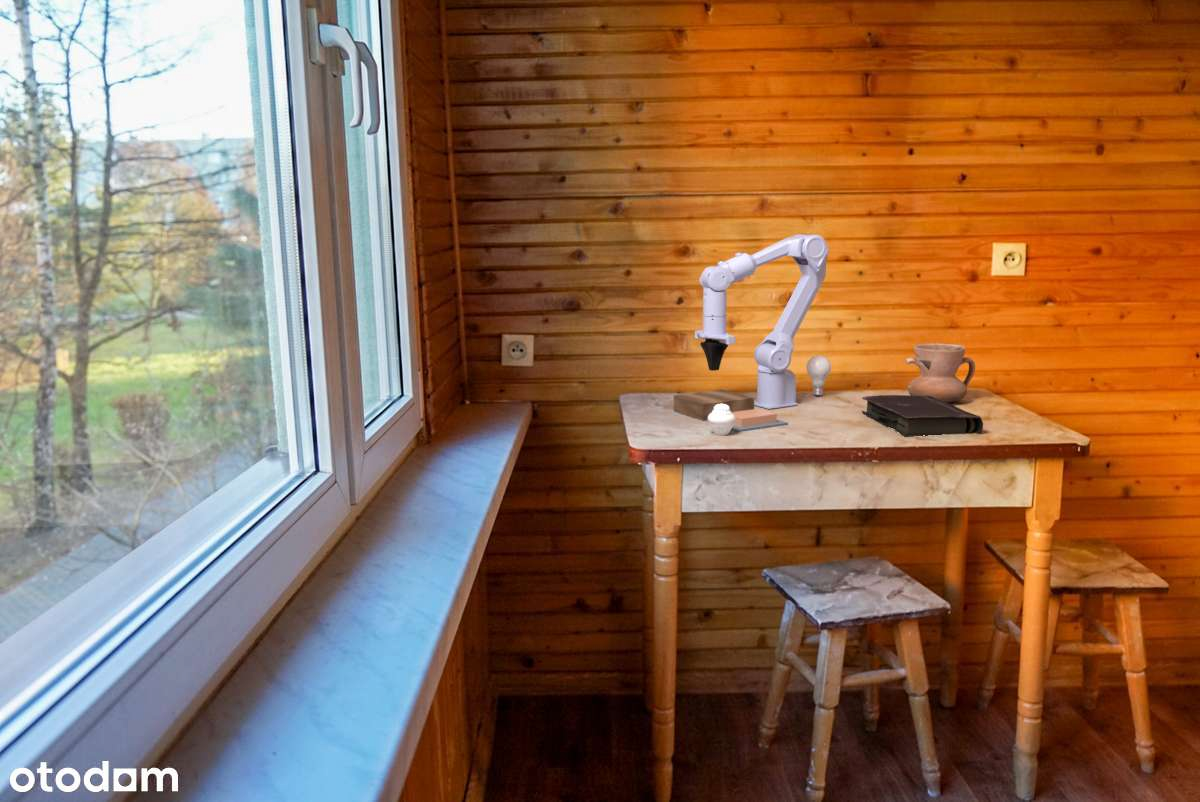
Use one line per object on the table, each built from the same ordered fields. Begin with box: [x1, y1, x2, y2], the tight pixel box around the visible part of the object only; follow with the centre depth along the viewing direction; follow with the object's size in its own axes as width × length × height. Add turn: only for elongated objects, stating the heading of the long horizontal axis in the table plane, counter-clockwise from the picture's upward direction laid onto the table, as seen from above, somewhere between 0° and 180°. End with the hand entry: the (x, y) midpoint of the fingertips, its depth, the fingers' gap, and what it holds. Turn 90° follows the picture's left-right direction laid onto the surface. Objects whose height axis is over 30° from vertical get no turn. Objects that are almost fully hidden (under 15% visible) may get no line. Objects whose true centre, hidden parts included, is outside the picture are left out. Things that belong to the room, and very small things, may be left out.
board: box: [673, 389, 755, 422], centre depth 231 cm, size 15×13×4 cm
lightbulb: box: [806, 354, 832, 397], centre depth 248 cm, size 6×6×11 cm
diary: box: [861, 394, 984, 438], centre depth 216 cm, size 19×25×5 cm
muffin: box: [707, 403, 735, 436], centre depth 208 cm, size 6×6×7 cm
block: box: [732, 408, 778, 427], centre depth 218 cm, size 10×7×2 cm
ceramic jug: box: [905, 343, 976, 404], centre depth 240 cm, size 18×14×14 cm
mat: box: [705, 418, 789, 432], centre depth 219 cm, size 14×13×1 cm
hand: (714, 370), depth 233 cm, fingers closed
